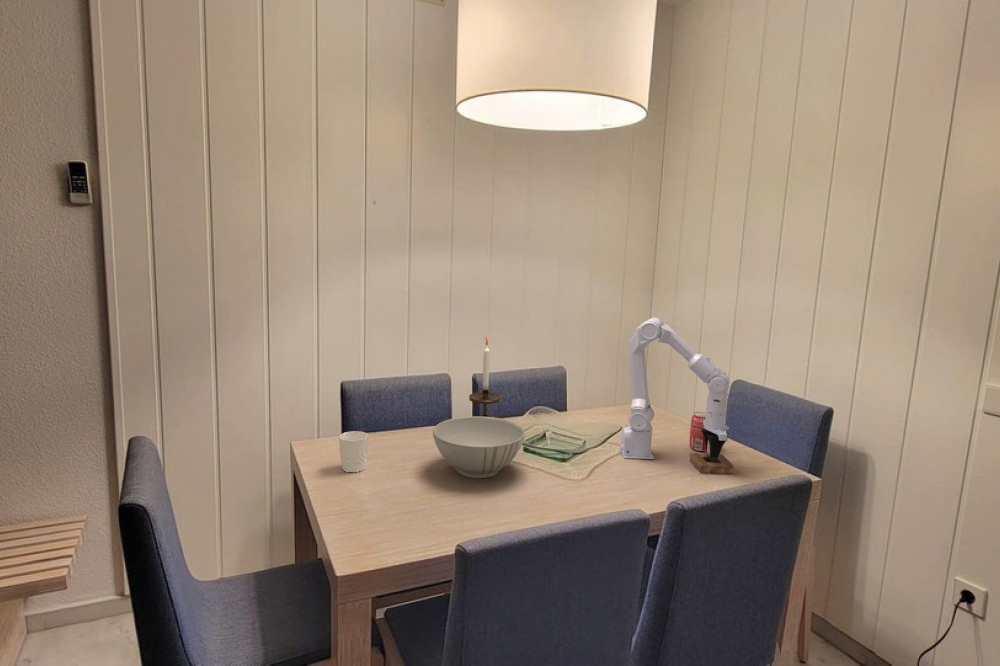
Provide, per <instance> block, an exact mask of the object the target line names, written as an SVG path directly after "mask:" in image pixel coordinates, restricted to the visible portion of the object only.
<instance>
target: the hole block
mask: <svg viewBox="0 0 1000 666" xmlns="http://www.w3.org/2000/svg"><path fill="white" fill-rule="evenodd" d="M706 456H707V453H695V452H694V453H692V452H691V453H689V459H688V460H689V462H690V464H691V465H692V464H693V465H694V466H693V465H692V466H693V467H694V468H695V470H698V471H699V472H700V473H711V474H710V475H729V474H734V475H735V465H733V464H732V462H730V461H729V460H728V459H727V458H726V457H725V456H724V454H721V453H720V454H719V457H718V458H717V461H716V462H709V461H707V460H706ZM698 471H697V472H698ZM699 472H698V473H699ZM700 473H699V474H700Z"/></svg>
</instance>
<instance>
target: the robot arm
mask: <svg viewBox="0 0 1000 666" xmlns="http://www.w3.org/2000/svg"><path fill="white" fill-rule="evenodd" d="M657 339H658V341H657V342H658V343H662V344H668V345H669V346H670V347H672V348H673V349H674V350H675V351H676V352H677V353H678V354H679V355H681V356H682V358H684V359H685V360H686V361H688V362H687V363H688V368H689V369H690V370H691V371H692V372H693V373H694V374H695V375H696V376H697V377H698V378H699V379H700V380H701V381H702V382H704V383H706V385H707V389H708V394H707V400H706V410H705V412H706V418H705V419H703V425H704V428H705V429H702V430H701V432H702V434H703V437H704V440H705V447H706V453H705V454H707V445H708V440H709V445H710V457H711V458H718V457H719V454H721V451H722V449H723V447H724V444H726V443H727V441H728V434H727V431H728V430H729V429H730V427H729V426H728V425H726V421H727V419H726V418H727V412H728V411H727V409H728V396H729V394H728V393H729V389H730V383H731V381H730V377H729V375H727V373H726V372H724V371H723V370H722V369H721V368H720V367H719V368H718V367H717V366H716V365H715V364H713V362H711V361H710V359H711V357H709V355H706V356H705V355H704V354H703V353H696V352H695V351H694V350H693V349H692V348H691V347H690V346H689V345H688V344H687V343H686V342H685V341H684V340H683V339H682V337H680V335H678V333H677V332H676V331H675V330H673V329H672V327H670V326H669V325H668V324H667V323H664V321H663V320H662V319H661V318H659V317H650V318H648V319H647V320H646V321H643V322H642V323H641V324H640V325H639V326H637V327H636V328H635V332H634V333H633V335H632V337H631V338H630V340H629V342H628V346H627V349H628V361H629V373H630V374H629V375H630V385H631V388H630V389H631V399H632V400H631V404H630V405H631V406H630V415H629V417H628V424H629V425H628V426H626V427H622V428H621V432H620V445H619V451H620V453H621V455H622V457H623V458H624V459H637V460H640V459H643V460H655V456H654V455H653V453H651V451H652V440H653V426H652V424H651V422H652V421H653V419H654V417H655V411H654V409H653V408H652V406H651V400H650V398H649V390H648V379H647V378H648V377H647V375H648V374H647V366H646V365H647V364H646V363H647V362H646V352H645V349H646V348H647V346H648V345H650V343H652V342H655V341H656V340H657Z"/></svg>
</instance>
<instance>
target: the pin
mask: <svg viewBox="0 0 1000 666" xmlns="http://www.w3.org/2000/svg"><path fill="white" fill-rule="evenodd" d="M706 454H707V456H706V460H707V461H709V462H716V461H717V458H711V457H710V445H709V440H708V445H707V453H706Z"/></svg>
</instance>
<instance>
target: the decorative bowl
mask: <svg viewBox="0 0 1000 666" xmlns="http://www.w3.org/2000/svg"><path fill="white" fill-rule="evenodd" d="M432 435H433V436H432V437H433V439H434V440H433V441H434V443H435V445H436V447H437V450H438V451H439V453H440V454H441V457H442V458H443V459H444V460H445V461H446V462H447V463H448V464H449V465H451V466H452V467H453V468H454V469H456V470H457V472H458V473H459V475H461V476H464V477H468V478H471V479H472V478H474V479H484V478H490V477H493V476H496V475H497V474H498V473H499V471H500V470H502V469H504V468H505V467H506V466H507V465H508V464H510V463H511V462H512V461H513V460H514V459H515V458H516V456H517V455H518V453H519V452H520V450H521V448H522V446H523V443H524V440H525V436H526V431H525V429H524V428H523V426H521V425H520V424H518V423H516V422H515V421H511V420H509V419H505V418H504V419H503V418H500V417H494V416H489V417H482V416H481V415H479V416H476V415H475V416H460V417H454V418H450V419H446V420H444V421H441V422H439V423H438V424H436V425H435V426H434V428H433V429H432Z"/></svg>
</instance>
